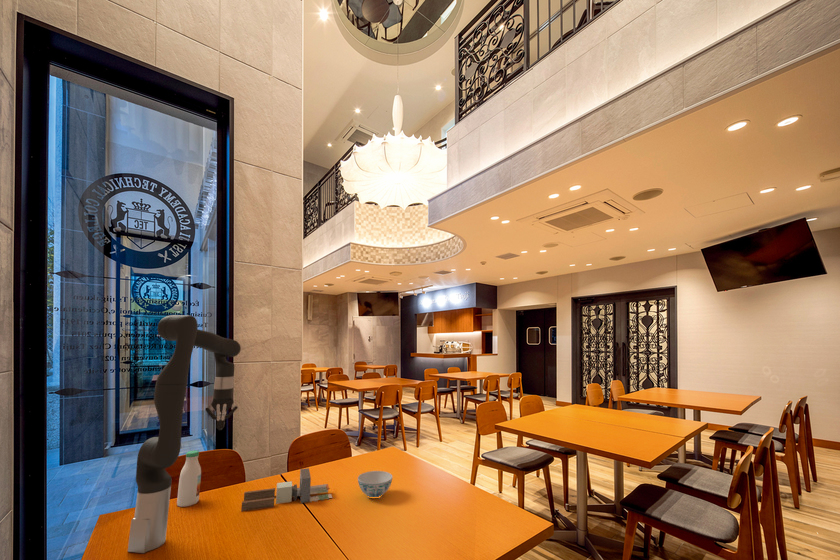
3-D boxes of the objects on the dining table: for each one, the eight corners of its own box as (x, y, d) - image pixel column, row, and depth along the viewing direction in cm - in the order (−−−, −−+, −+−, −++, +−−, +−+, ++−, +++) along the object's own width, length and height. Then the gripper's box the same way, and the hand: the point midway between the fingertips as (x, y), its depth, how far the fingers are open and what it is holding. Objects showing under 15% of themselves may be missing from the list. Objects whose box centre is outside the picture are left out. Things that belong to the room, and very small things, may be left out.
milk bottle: (191, 507, 148) (196, 454, 151) (172, 507, 148) (177, 454, 151) (202, 499, 155) (207, 449, 158) (184, 499, 155) (189, 448, 159)
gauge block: (275, 504, 151) (276, 488, 152) (276, 498, 157) (277, 483, 158) (293, 501, 153) (294, 486, 154) (293, 495, 159) (294, 481, 160)
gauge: (241, 512, 144) (243, 486, 145) (244, 499, 155) (245, 475, 157) (332, 498, 156) (333, 475, 157) (328, 487, 167) (329, 465, 169)
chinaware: (386, 505, 150) (386, 484, 151) (351, 501, 153) (352, 481, 154) (396, 490, 164) (396, 472, 166) (364, 487, 167) (364, 469, 169)
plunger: (293, 502, 151) (294, 492, 152) (293, 494, 159) (293, 484, 160) (329, 497, 156) (329, 487, 157) (326, 490, 164) (327, 480, 165)
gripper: (204, 389, 154) (200, 432, 151) (239, 387, 158) (236, 430, 155) (208, 386, 161) (204, 428, 158) (241, 385, 165) (238, 426, 162)
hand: (220, 429), depth 156 cm, fingers closed
